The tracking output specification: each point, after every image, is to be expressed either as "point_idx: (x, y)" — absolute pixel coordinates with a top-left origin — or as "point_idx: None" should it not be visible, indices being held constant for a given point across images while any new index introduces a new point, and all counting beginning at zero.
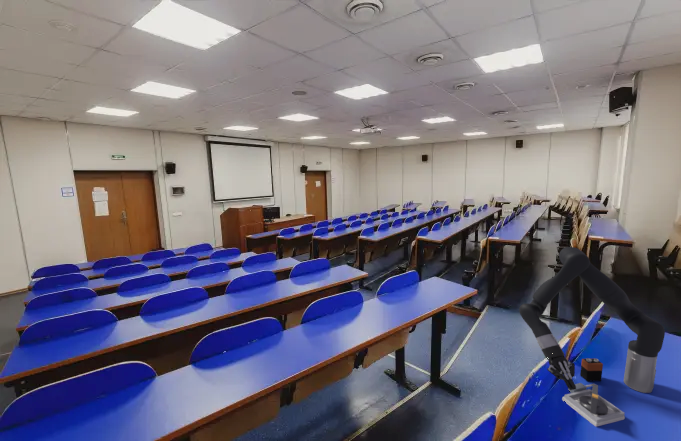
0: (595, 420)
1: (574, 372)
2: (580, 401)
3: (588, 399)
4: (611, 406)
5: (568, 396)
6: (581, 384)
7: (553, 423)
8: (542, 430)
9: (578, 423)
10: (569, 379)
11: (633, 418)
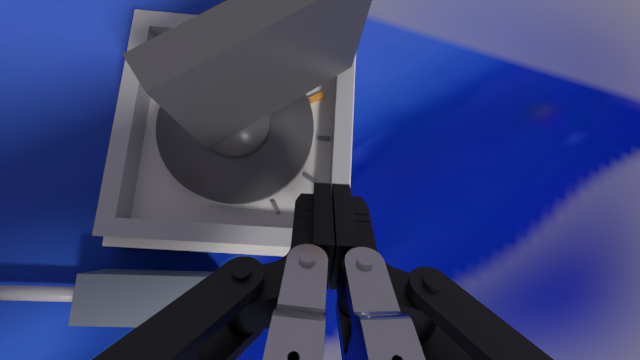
0: None
1: (185, 296)
2: (297, 168)
3: (242, 146)
4: None
5: None
6: (87, 306)
7: (545, 141)
8: (632, 127)
9: (418, 100)
10: (329, 254)
11: (96, 28)
